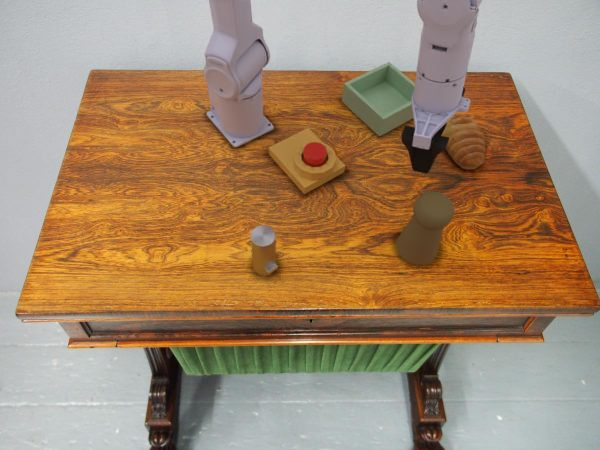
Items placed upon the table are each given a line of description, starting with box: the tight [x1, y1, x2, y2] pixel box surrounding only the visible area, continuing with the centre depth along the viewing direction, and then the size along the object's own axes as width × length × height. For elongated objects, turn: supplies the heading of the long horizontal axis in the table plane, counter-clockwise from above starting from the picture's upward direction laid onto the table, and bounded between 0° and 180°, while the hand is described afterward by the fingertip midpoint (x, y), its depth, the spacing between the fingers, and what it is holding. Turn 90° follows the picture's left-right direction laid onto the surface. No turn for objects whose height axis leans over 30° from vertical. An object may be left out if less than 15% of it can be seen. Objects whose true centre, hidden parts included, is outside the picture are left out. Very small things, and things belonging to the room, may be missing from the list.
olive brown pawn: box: [395, 190, 455, 266], centre depth 68 cm, size 6×6×11 cm
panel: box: [268, 127, 346, 195], centre depth 79 cm, size 10×8×4 cm
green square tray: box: [341, 61, 415, 137], centre depth 87 cm, size 10×10×4 cm
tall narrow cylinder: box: [249, 224, 279, 277], centre depth 66 cm, size 4×3×8 cm
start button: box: [303, 142, 327, 167], centre depth 76 cm, size 4×4×2 cm
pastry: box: [441, 116, 487, 170], centre depth 82 cm, size 9×7×4 cm
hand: (427, 151), depth 69 cm, fingers open, 7 cm apart
